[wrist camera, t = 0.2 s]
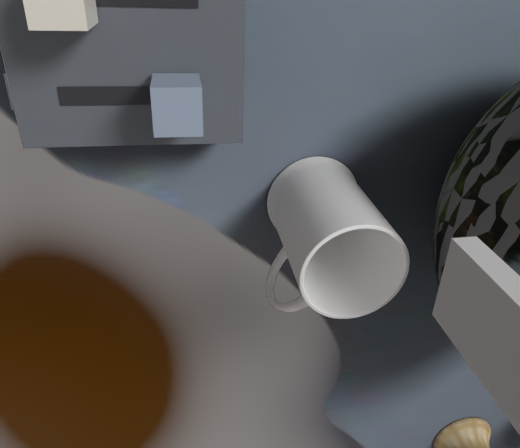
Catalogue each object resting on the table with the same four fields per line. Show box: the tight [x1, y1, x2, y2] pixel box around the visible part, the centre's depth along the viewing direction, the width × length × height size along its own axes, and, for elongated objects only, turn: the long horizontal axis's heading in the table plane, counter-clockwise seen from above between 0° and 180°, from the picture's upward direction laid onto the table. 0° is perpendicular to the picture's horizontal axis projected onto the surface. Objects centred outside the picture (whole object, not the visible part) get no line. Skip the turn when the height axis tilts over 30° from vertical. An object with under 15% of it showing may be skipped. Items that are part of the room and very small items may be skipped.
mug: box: [266, 157, 410, 319], centre depth 38 cm, size 12×8×12 cm
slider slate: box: [150, 73, 203, 138], centre depth 30 cm, size 3×3×4 cm
